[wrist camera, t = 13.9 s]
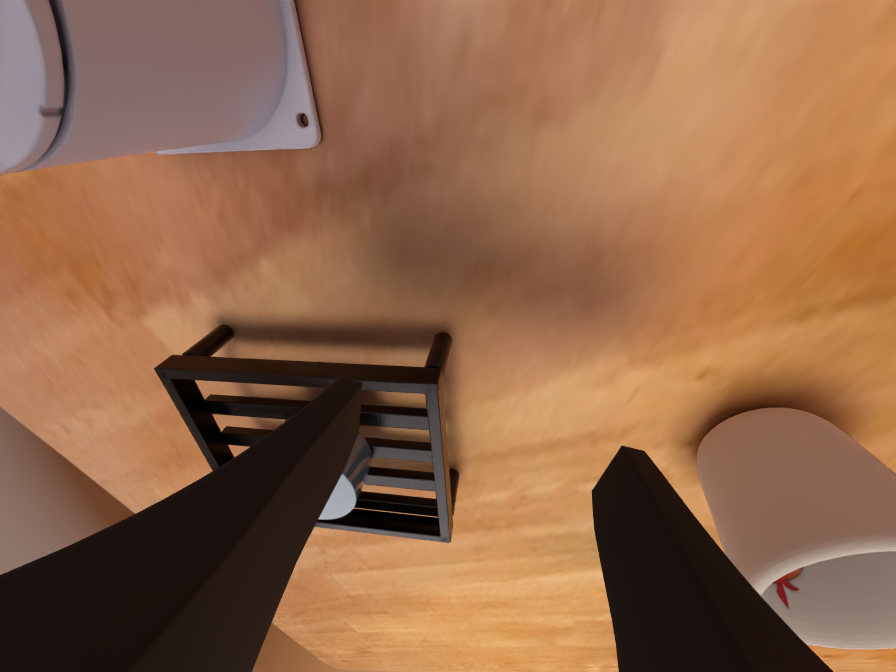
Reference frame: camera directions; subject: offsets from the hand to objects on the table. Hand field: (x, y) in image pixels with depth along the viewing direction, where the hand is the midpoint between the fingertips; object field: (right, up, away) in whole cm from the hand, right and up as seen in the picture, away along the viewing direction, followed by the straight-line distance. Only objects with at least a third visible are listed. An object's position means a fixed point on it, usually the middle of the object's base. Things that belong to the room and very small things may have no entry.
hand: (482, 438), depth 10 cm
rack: (-7, -2, +14) cm, 16 cm away
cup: (+17, -3, +11) cm, 21 cm away
